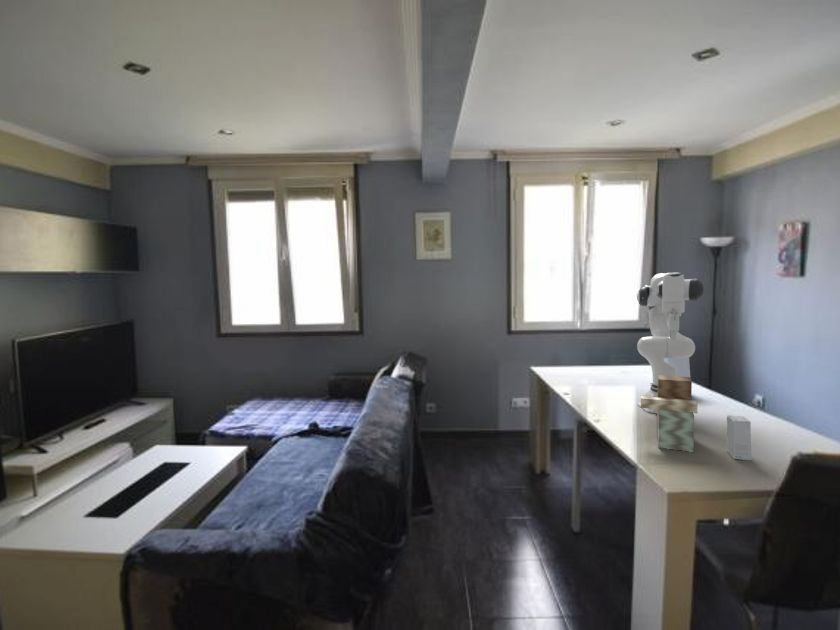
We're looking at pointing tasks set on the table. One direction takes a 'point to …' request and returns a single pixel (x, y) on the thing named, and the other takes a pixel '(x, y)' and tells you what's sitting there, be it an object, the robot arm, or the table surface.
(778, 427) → the table surface
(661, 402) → the birch batten
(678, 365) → the pale grey tall block
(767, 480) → the table surface
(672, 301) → the robot arm
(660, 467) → the table surface
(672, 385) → the stepped stand
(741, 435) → the skincare box
